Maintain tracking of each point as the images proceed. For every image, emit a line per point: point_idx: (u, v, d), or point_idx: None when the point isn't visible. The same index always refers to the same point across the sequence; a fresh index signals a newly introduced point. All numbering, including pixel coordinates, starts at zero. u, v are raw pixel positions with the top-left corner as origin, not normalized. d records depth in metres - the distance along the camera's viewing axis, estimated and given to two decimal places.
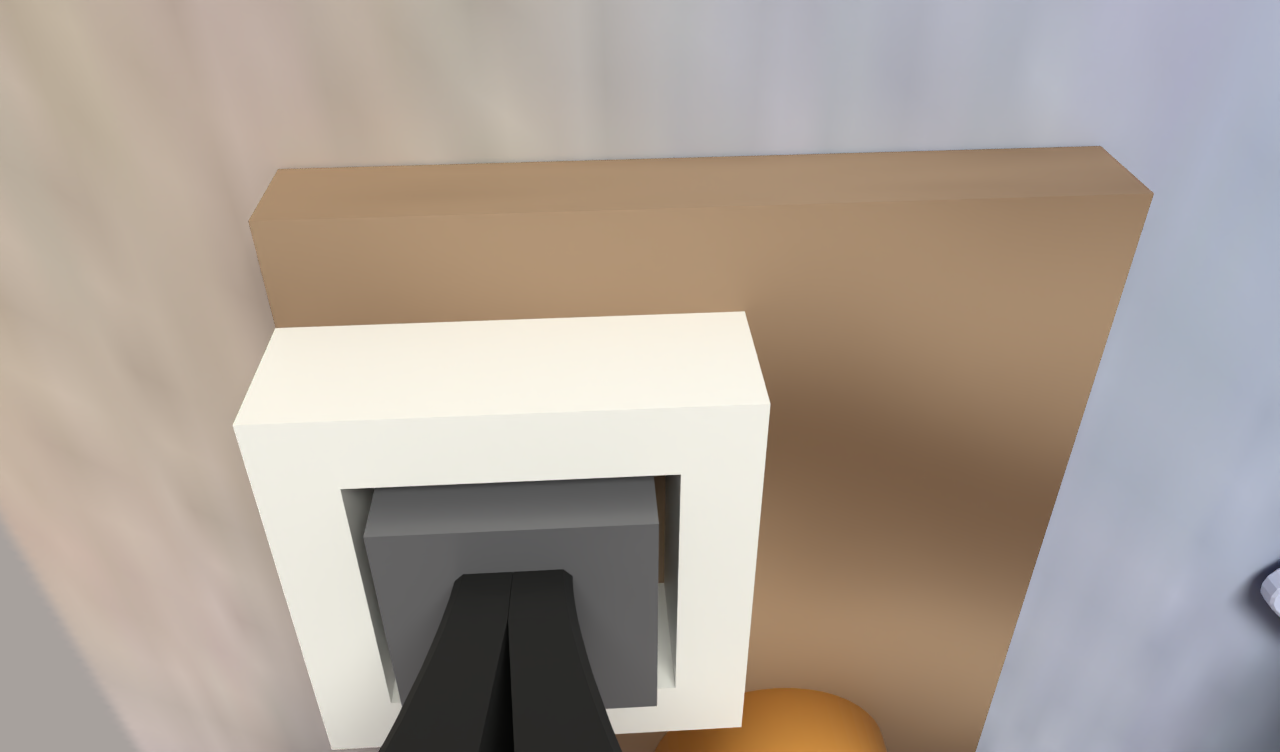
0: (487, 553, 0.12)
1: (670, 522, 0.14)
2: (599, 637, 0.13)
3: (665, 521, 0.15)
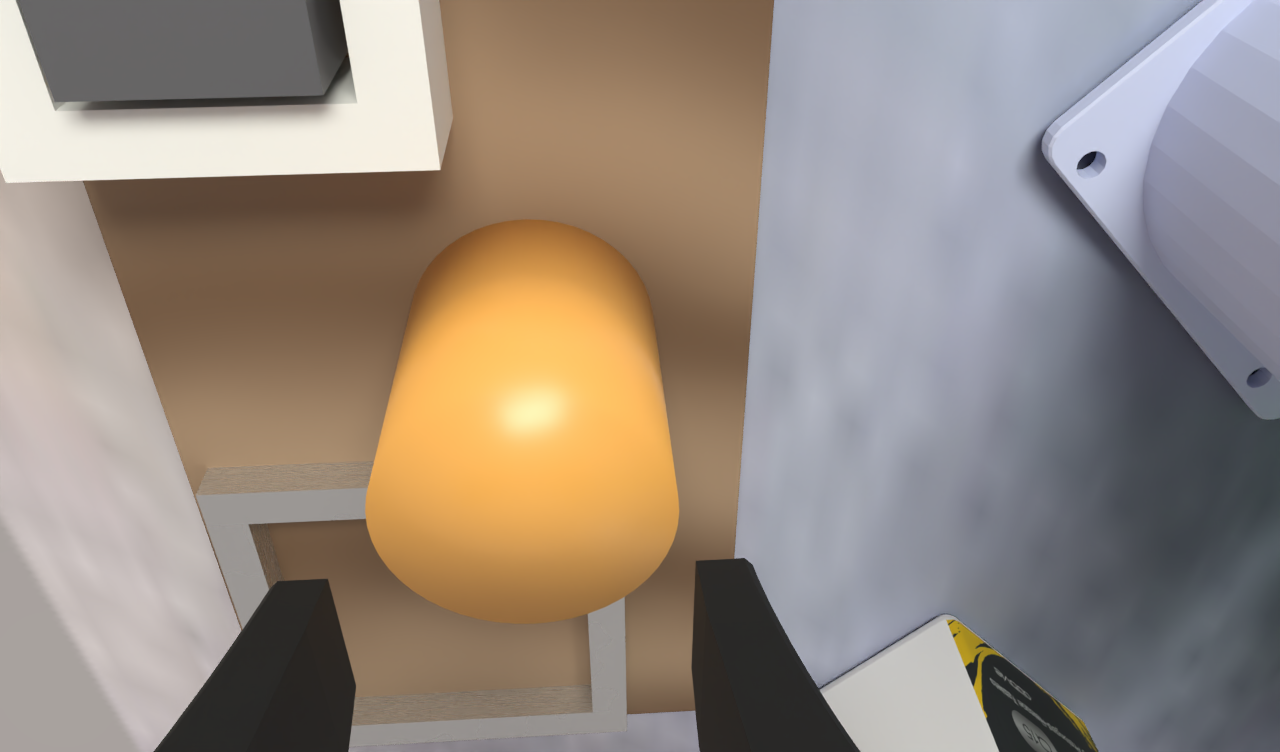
0: None
1: None
2: None
3: None
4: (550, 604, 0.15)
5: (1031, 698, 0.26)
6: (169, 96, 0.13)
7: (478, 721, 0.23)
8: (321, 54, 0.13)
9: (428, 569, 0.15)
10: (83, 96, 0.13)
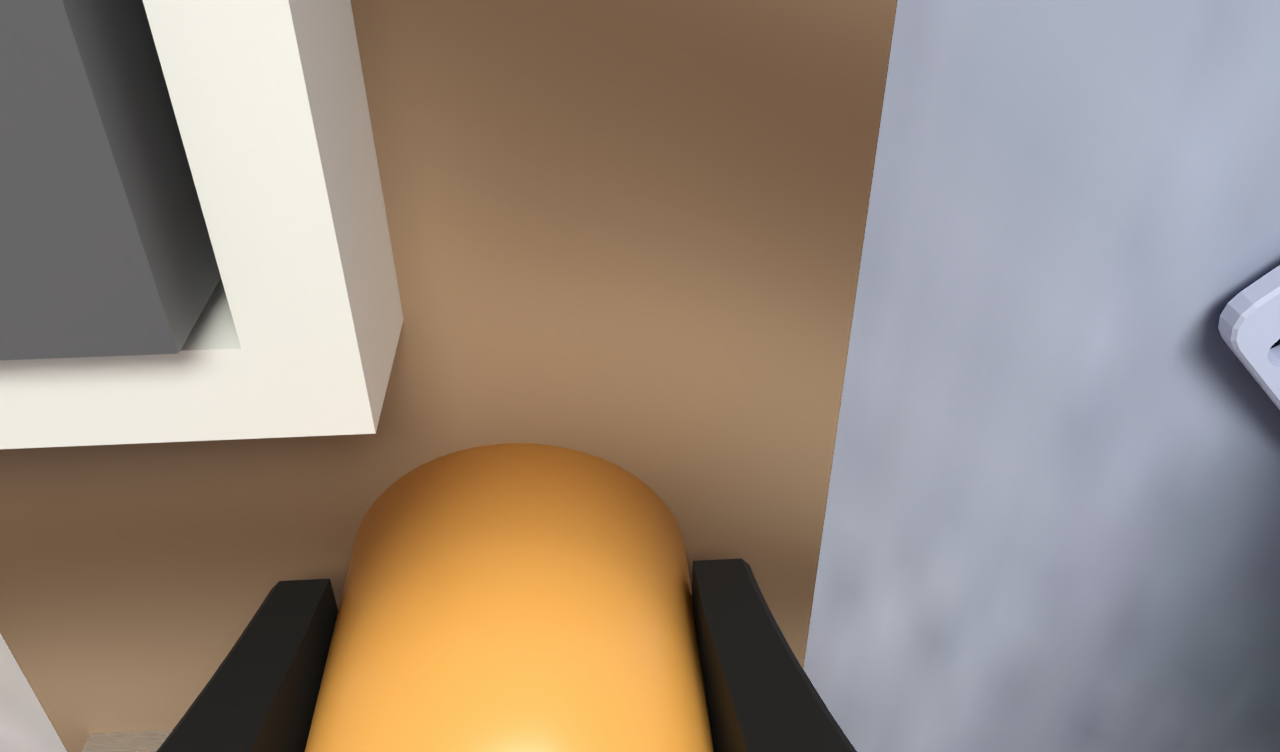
0: None
1: None
2: (16, 189, 0.07)
3: None
4: None
5: None
6: None
7: None
8: (175, 287, 0.08)
9: None
10: None
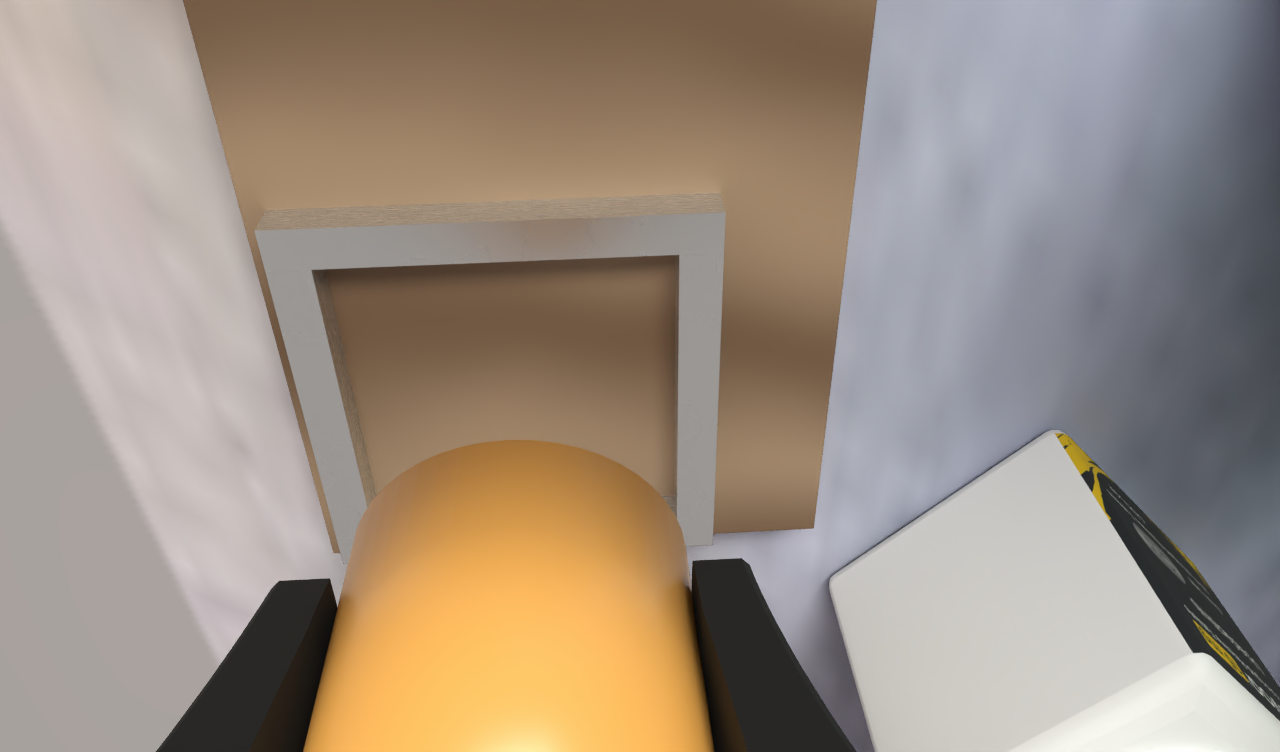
0: None
1: None
2: None
3: None
4: None
5: (1145, 522, 0.24)
6: None
7: None
8: None
9: None
10: None
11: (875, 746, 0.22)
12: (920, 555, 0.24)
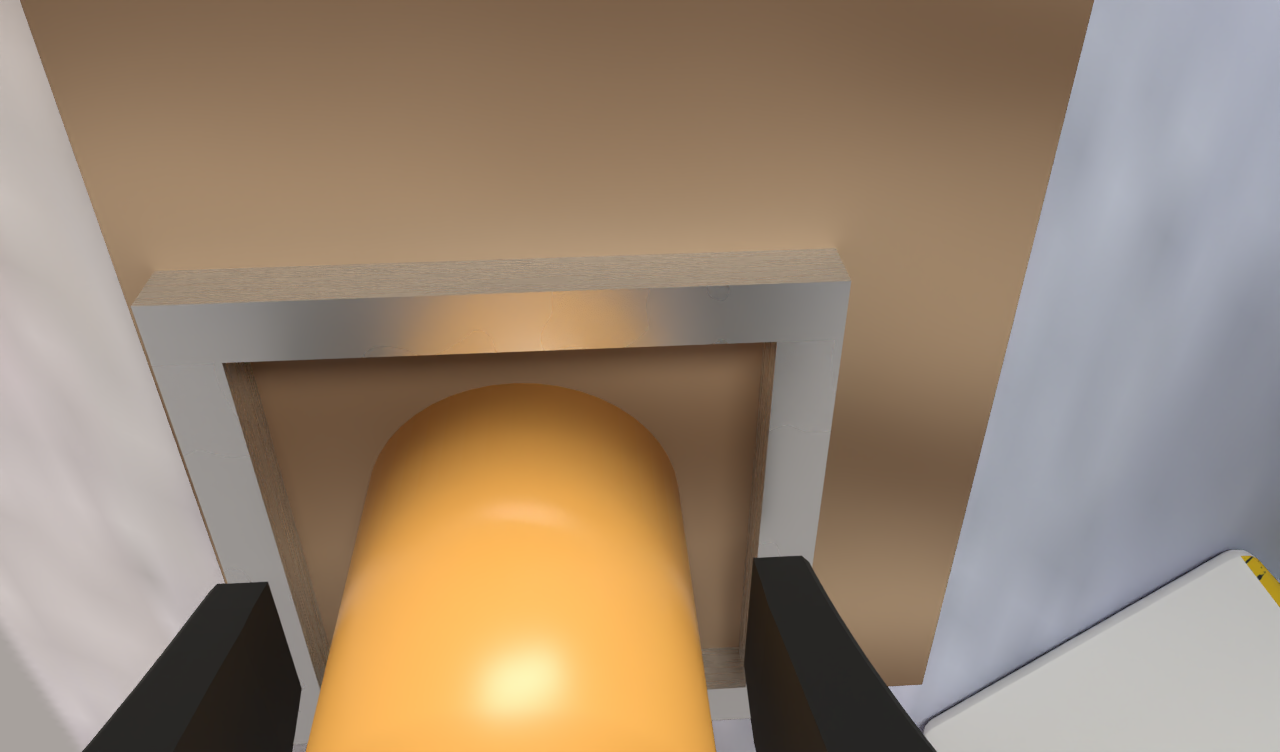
0: None
1: None
2: None
3: None
4: None
5: None
6: None
7: None
8: None
9: None
10: None
11: None
12: (1055, 711, 0.18)
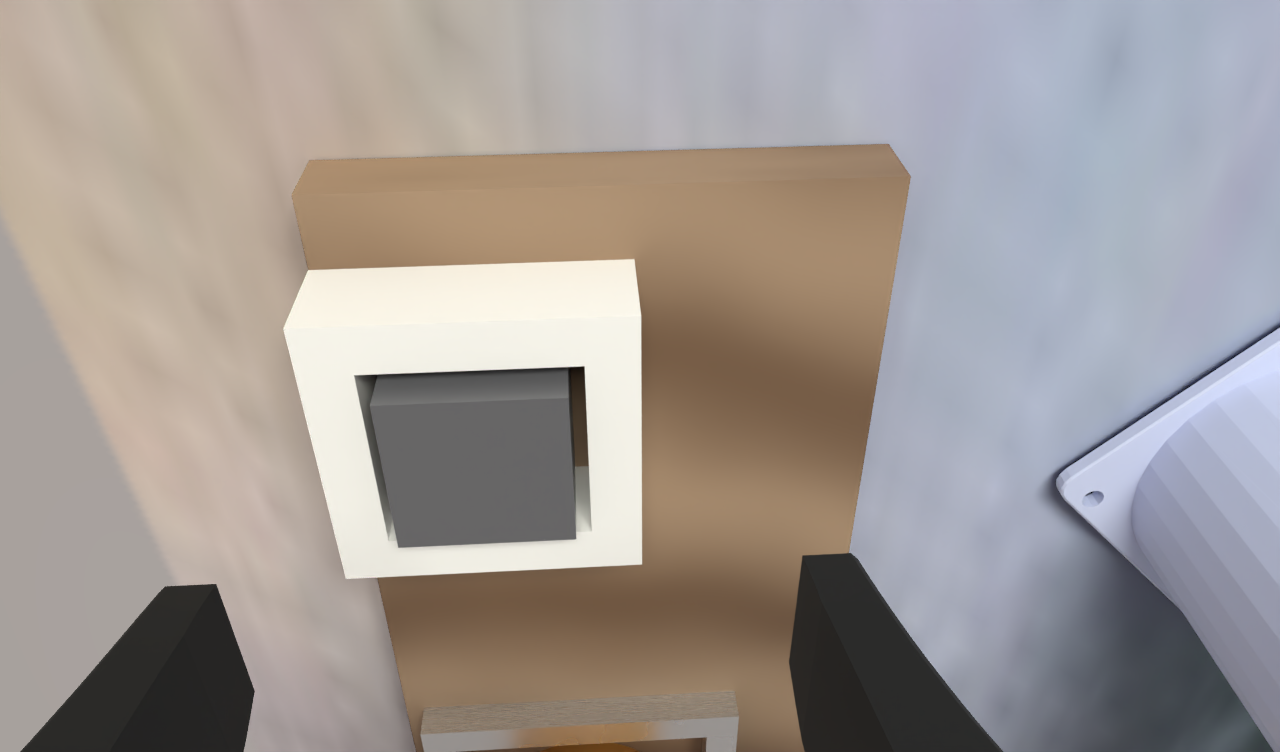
0: (453, 418, 0.17)
1: None
2: (532, 484, 0.18)
3: None
4: None
5: None
6: (472, 539, 0.19)
7: None
8: (574, 511, 0.19)
9: None
10: (417, 544, 0.19)
11: None
12: None
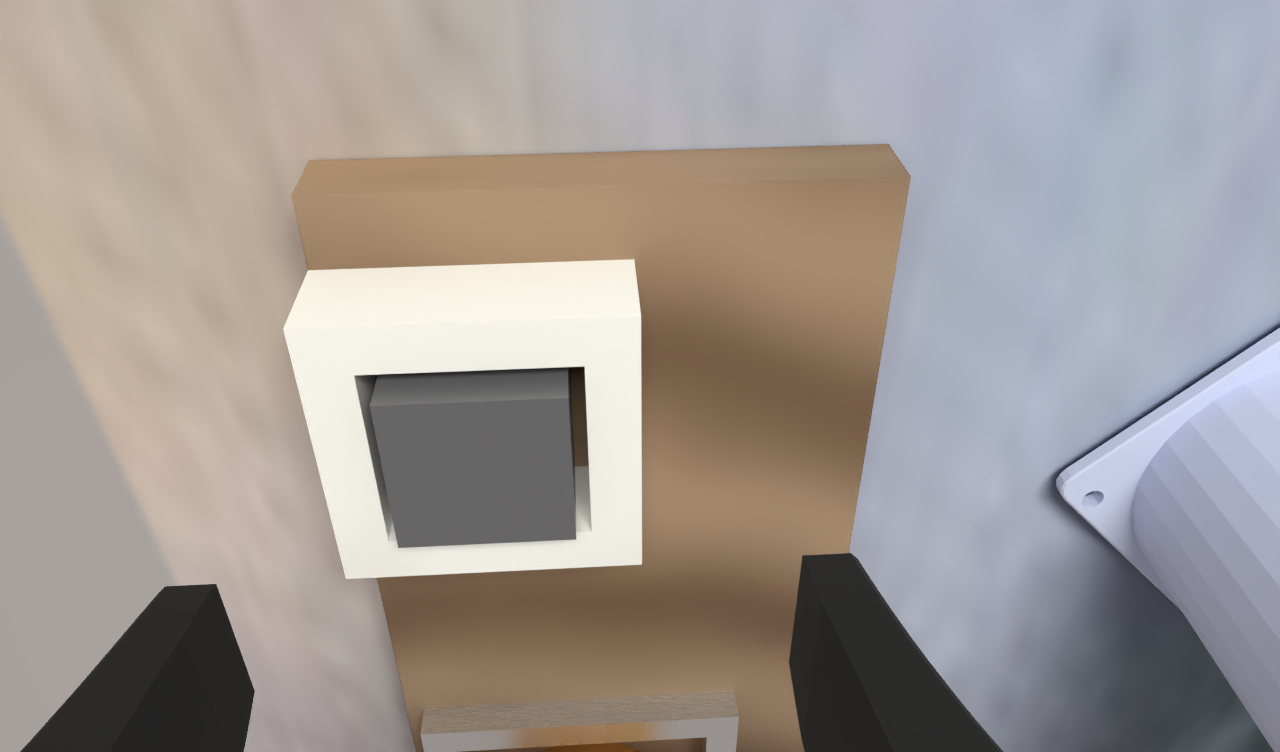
0: (453, 418, 0.17)
1: None
2: (532, 484, 0.18)
3: None
4: None
5: None
6: (472, 540, 0.19)
7: None
8: None
9: None
10: (417, 544, 0.19)
11: None
12: None
